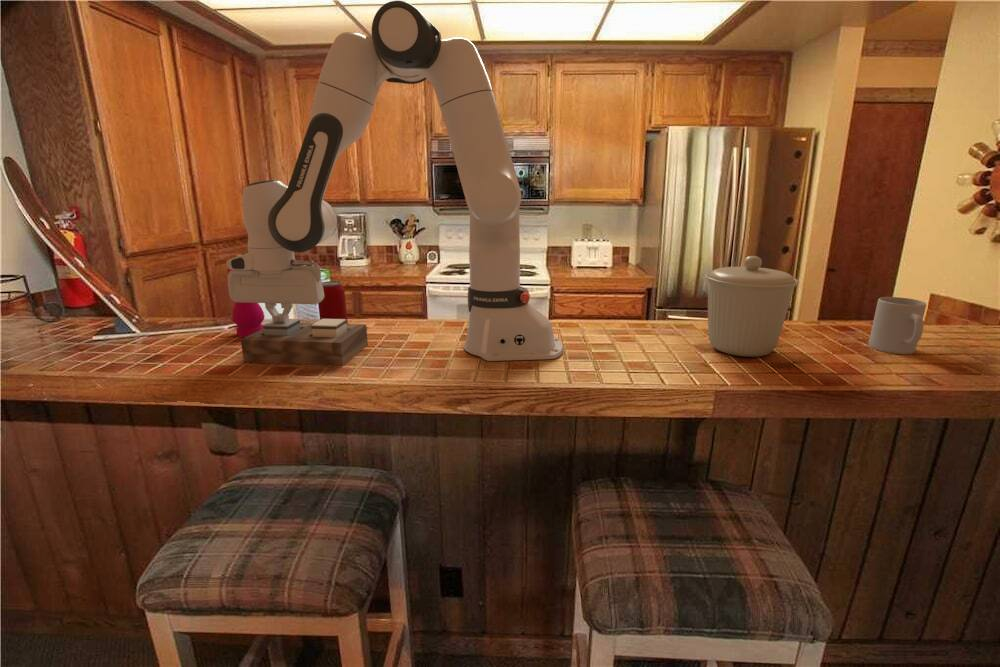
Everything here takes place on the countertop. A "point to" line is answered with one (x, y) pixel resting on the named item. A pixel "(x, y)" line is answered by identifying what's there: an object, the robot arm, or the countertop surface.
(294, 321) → the slate key
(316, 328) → the cream key
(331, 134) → the robot arm
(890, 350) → the mug
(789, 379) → the countertop surface
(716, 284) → the canister
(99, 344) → the countertop surface
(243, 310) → the pepper mill
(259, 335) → the frame
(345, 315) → the beverage can
